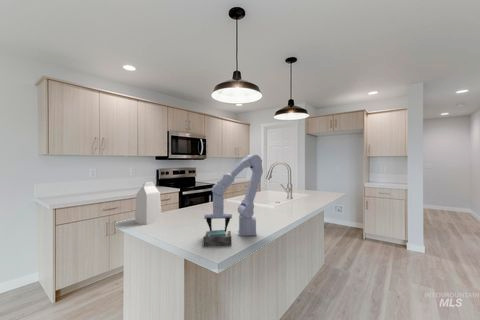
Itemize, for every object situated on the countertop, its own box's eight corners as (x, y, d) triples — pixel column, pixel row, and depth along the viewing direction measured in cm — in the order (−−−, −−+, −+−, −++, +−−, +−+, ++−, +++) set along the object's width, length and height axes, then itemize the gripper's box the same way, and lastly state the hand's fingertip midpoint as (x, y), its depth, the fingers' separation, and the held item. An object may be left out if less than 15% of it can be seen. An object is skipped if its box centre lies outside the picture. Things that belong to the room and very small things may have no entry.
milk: (146, 225, 140) (146, 183, 139) (134, 222, 145) (134, 182, 145) (161, 220, 150) (161, 181, 150) (150, 218, 156) (150, 181, 156)
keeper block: (224, 239, 115) (224, 229, 115) (225, 244, 109) (225, 233, 109) (209, 240, 114) (209, 230, 114) (209, 245, 108) (209, 234, 108)
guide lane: (230, 233, 124) (230, 225, 124) (231, 245, 106) (231, 237, 106) (206, 233, 123) (206, 226, 123) (203, 246, 105) (203, 237, 105)
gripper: (231, 204, 123) (231, 229, 123) (205, 205, 122) (205, 229, 122) (232, 207, 116) (232, 233, 116) (204, 208, 115) (204, 234, 115)
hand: (218, 232), depth 119 cm, fingers open, 7 cm apart
